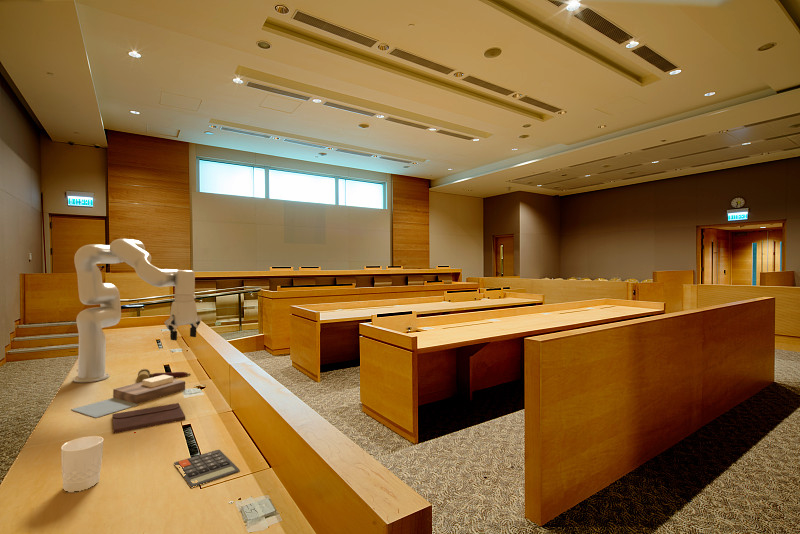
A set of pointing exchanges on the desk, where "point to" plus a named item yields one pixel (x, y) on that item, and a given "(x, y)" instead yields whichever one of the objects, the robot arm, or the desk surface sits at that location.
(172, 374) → the gavel
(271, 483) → the desk surface
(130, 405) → the mat
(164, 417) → the notebook
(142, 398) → the brown wooden board
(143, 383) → the cream flat block
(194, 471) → the calculator
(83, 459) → the white cup
